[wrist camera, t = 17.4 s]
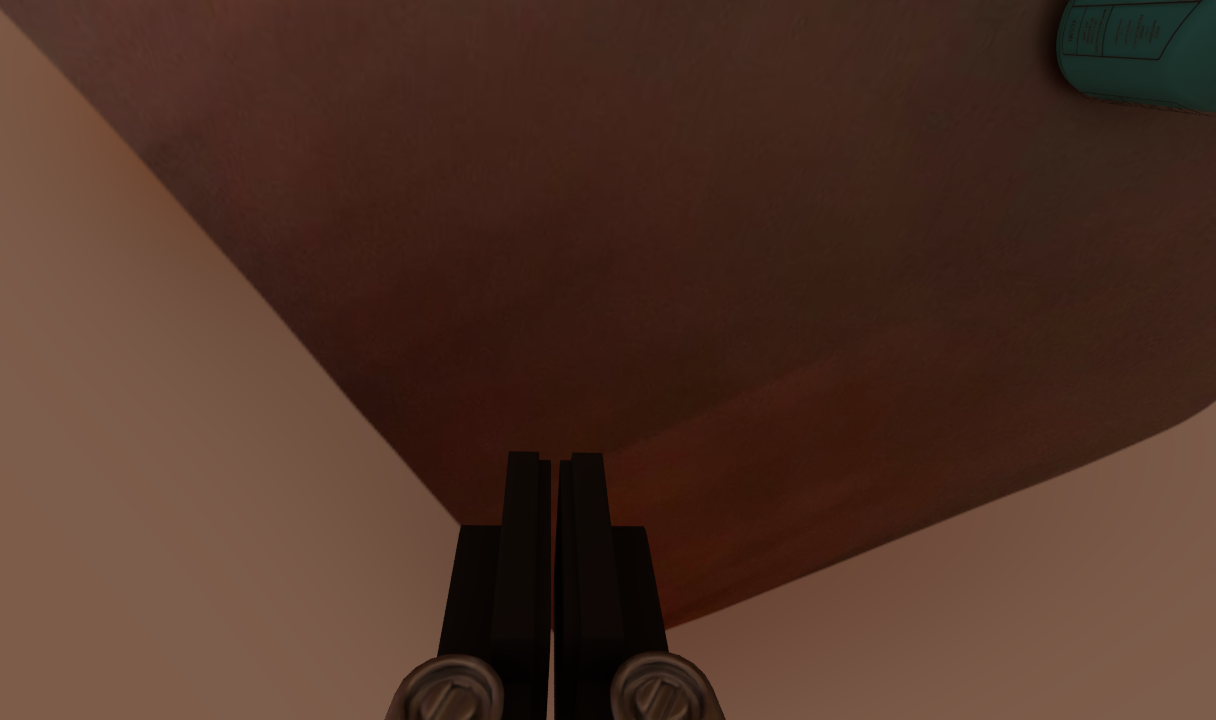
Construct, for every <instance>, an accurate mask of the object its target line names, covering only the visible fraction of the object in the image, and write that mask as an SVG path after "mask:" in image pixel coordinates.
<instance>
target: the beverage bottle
mask: <svg viewBox="0 0 1216 720" xmlns="http://www.w3.org/2000/svg"><path fill="white" fill-rule="evenodd" d="M1056 53H1057V60H1058V64H1059V67H1060V70H1061V72H1062V74H1063V75H1064V77H1065V79H1066V80H1067V81H1068V82H1069V83H1070V84H1071V85H1072V86H1074V87H1075V88H1076V89H1078V90H1079V91H1081V92H1082V93H1084V94H1086V95H1088V96H1091V97H1094V98H1097V99H1098V98H1099V99H1101V100H1102V99H1105V100H1106V99H1107V100H1106V102H1107V101H1108V100H1110V101H1112V100H1114V101H1115V102H1116V101H1119V102H1120V104H1119V105H1122V104H1121V103H1123V102H1127V103H1128V102H1131V103H1135V105H1136V103H1140V105H1141V104H1148V105H1154V108H1155V107H1156V106H1165V107H1168V108H1170V107H1173V108H1178V109H1180V110H1182V109H1189V110H1192V111H1193V110H1198V111H1206V112H1214V113H1216V0H1069V2H1068V3H1067V6H1066V8H1065V10H1064V12H1063V15H1062V18H1061V21H1060V24H1059V28H1058V33H1057V40H1056ZM1081 92H1079V93H1080V94H1081ZM1081 95H1082V94H1081ZM1082 96H1083V95H1082ZM1084 97H1085V96H1084ZM1086 98H1087V97H1086ZM1094 98H1093V99H1094ZM1088 99H1089V98H1088ZM1094 100H1096V99H1094ZM1105 100H1103V101H1102V103H1103V102H1104V101H1105ZM1097 101H1098V100H1097ZM1121 101H1123V102H1121ZM1095 102H1096V101H1095ZM1099 102H1100V100H1099ZM1106 102H1105V103H1106ZM1112 102H1113V101H1112ZM1112 102H1111V104H1112ZM1115 102H1114V103H1115ZM1119 102H1117V103H1119ZM1100 103H1101V102H1100ZM1108 103H1109V102H1108ZM1114 103H1113V104H1114ZM1109 104H1110V103H1109ZM1123 104H1124V103H1123ZM1129 104H1130V103H1129ZM1115 105H1116V104H1115ZM1117 105H1118V104H1117ZM1131 105H1132V104H1131ZM1155 105H1156V106H1155ZM1123 106H1125V105H1123ZM1126 106H1127V104H1126ZM1128 106H1130V105H1128ZM1138 106H1139V105H1138ZM1142 106H1143V105H1141V106H1140V107H1142ZM1131 107H1132V106H1131ZM1136 107H1137V106H1136ZM1143 107H1144V108H1145V106H1143ZM1150 107H1152V106H1150ZM1156 108H1157V107H1156ZM1168 108H1167V109H1168ZM1146 109H1147V108H1146ZM1148 109H1149V108H1148ZM1152 109H1153V108H1152ZM1159 109H1160V108H1159ZM1170 109H1171V108H1170ZM1170 109H1168V111H1169V110H1170ZM1155 110H1156V109H1155ZM1160 110H1161V109H1160ZM1173 110H1174V109H1172V110H1171V111H1173ZM1165 111H1166V110H1165ZM1171 111H1170V112H1171ZM1175 111H1176V110H1175ZM1183 111H1184V110H1183ZM1176 112H1179V111H1176ZM1185 112H1187V111H1184V112H1183V113H1185ZM1194 112H1196V111H1194ZM1181 113H1182V111H1181ZM1188 113H1189V112H1188ZM1197 113H1198V112H1197ZM1186 114H1187V113H1186ZM1190 114H1193V113H1190ZM1201 114H1202V113H1201ZM1201 114H1199V115H1201ZM1195 115H1196V114H1195ZM1204 115H1206V114H1204ZM1207 116H1209V115H1207ZM1215 117H1216V116H1215Z"/></svg>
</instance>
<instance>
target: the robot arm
mask: <svg viewBox="0 0 1216 720" xmlns="http://www.w3.org/2000/svg"><path fill="white" fill-rule="evenodd" d="M550 634H551V460H539V452H515V451H509V455H508V465H507V476H506V486H505V496H504V506H503V516H502V526H490V525H462V526H461V528H460V533H459V538H458V543H457V549H456V555H455V560H454V566H453V571H452V576H451V582H450V588H449V593H448V599H447V605H446V610H445V616H444V622H443V627H442V632H441V638H440V644H439V649H438V654H437V657H436V658H432V659H430V660H428V661H426V662H425V663H423V664H421V665H419V666H417V667H416V668H415V669H414V670H413V671H412V672H411V673H410V674H409V675H407V676H406V677H405V678H404V679H403V681H402V683H401V684H400V686H399V688H398V690H397V691H396V693H395V695H394V697H393V700H392V702H391V705H390V707H389V709H388V712H387V714H386V717H385V720H546V717H547V698H548V679H549V659H550ZM554 720H726V719H725V717H724V714H723V712H722V709H721V707H720V705H719V702H718V700H717V697H716V695H715V692H714V690H713V688H712V686H711V684H710V682H709V681H708V679H707V677H706V676H705V674H704V673H703V672H702V671H701V670H700V669H698V667H697V666H695V664H693V663H692V662H690V661H688V660H686V659H685V658H683V657H681V656H680V655H676V654H672V653H669V650H668V645H667V640H666V634H665V629H664V624H663V618H662V613H661V608H660V602H659V597H658V592H657V586H656V581H655V576H654V570H653V565H652V560H651V554H650V549H649V544H648V539H647V534H646V530H645V528H644V526H611V521H610V513H609V505H608V496H607V488H606V480H605V472H604V463H603V456H602V453H572V457H571V461H569V460H560V470H559V489H558V508H557V527H556V546H555V565H554Z"/></svg>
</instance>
